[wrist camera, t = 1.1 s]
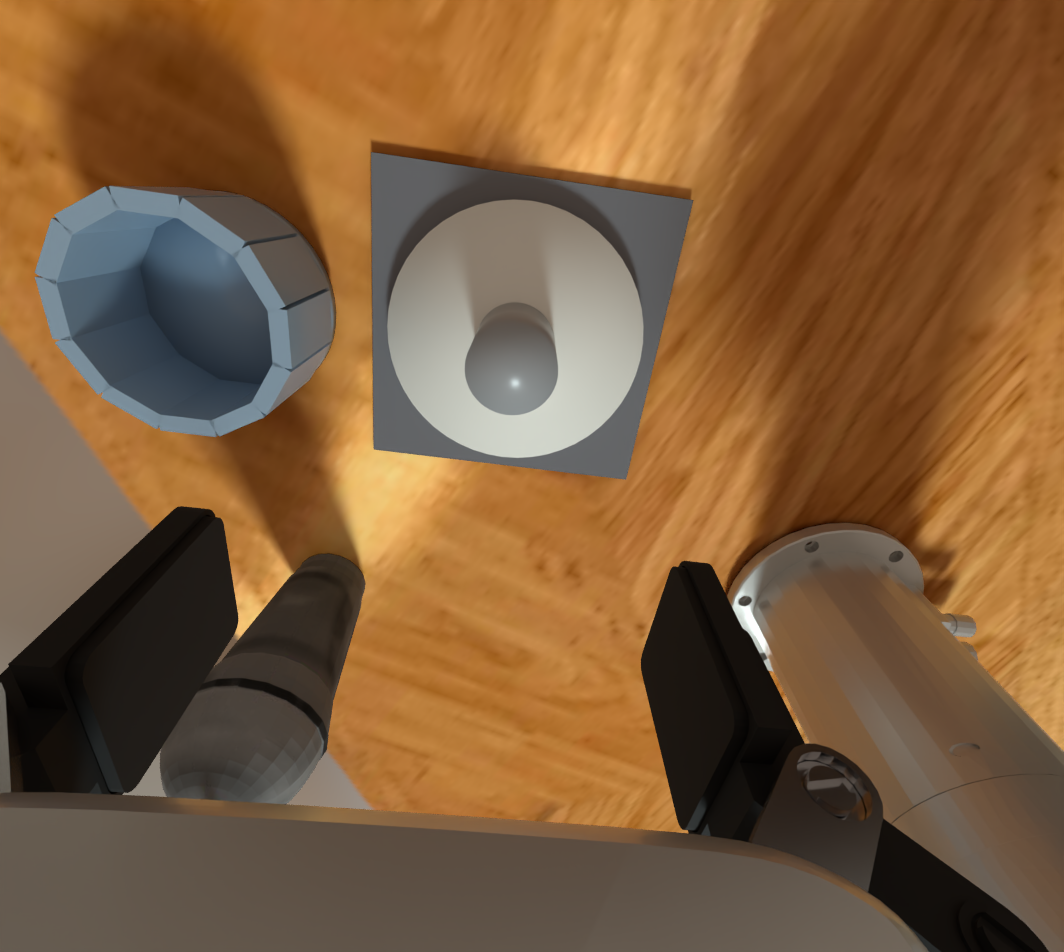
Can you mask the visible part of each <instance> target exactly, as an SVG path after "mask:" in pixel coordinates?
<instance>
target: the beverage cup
mask: <svg viewBox="0 0 1064 952" xmlns="http://www.w3.org/2000/svg"><path fill="white" fill-rule="evenodd" d="M364 589H365V580H364V576H363V574H362V573H361V571H360V570H359V568H358V567H357V566H356V565H354V564H353V563H352V562H351V561H349V560H347V559H345V558H343V557H341V556H337V555H332V554H318V555H315V556H312V557H309V558H308V559H307V560H306V561H304V562H303V563H302V565H301V566H300V568H299V569H297V571H296V572H295V573H294V574H293V575H291V576H290V577H289V579H288V580H287V581H286V582H285V583H284V585H283V586H282V587H281V588H280V590H279V591H278V592H277V593H276V595H275V596H274V597H273V598H272V599H271V601H270V602H269V603H268V604H267V606H266V607H265V608H264V609H263V610H262V612H261V613H260V614H259V615H258V617H257V618H256V619H255V620H254V622H253V623H252V624H251V625H250V626H249V628H248V629H247V630H246V631H245V633H244V634H243V635H242V636H241V638H240V639H239V640H238V641H237V643H236V644H235V645H234V646H233V647H232V649H231V650H230V651H229V653H227V655H226V656H225V657H224V658H223V660H222V661H221V662H220V663H218V664H217V665H216V666H215V667H213V668H212V670H211V671H210V673H209V674H208V676H207V677H206V679H205V681H204V682H203V684H202V685H201V687H200V688H199V690H198V692H197V693H196V695H195V696H194V698H193V699H192V701H191V702H190V704H189V706H188V707H187V709H186V710H185V712H184V713H183V715H182V716H181V718H180V720H179V721H178V723H177V724H176V726H175V727H174V729H173V731H172V732H171V734H170V735H169V737H168V738H167V740H166V741H165V743H164V745H163V746H162V748H161V753H160V772H161V780H162V785H163V790H164V792H165V794H166V796H167V797H172V798H189V799H205V800H222V801H238V802H254V803H271V804H287V803H288V802H289V801H290V800H291V799H292V798H293V797H294V796H295V795H296V794H297V793H298V792H299V790H300V789H301V788H302V787H303V785H304V784H305V782H306V781H307V779H308V778H309V776H310V775H311V773H312V772H313V770H314V769H315V767H316V765H317V763H318V761H319V760H320V759H321V757H322V756H323V754H324V753H325V752H326V750H327V743H328V732H329V726H330V720H331V714H332V706H333V700H334V696H335V693H336V689H337V686H338V683H339V679H340V676H341V672H342V669H343V666H344V662H345V659H346V655H347V652H348V649H349V645H350V642H351V638H352V635H353V632H354V628H355V625H356V621H357V618H358V615H359V611H360V608H361V601H362V595H363V593H364Z"/></svg>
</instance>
